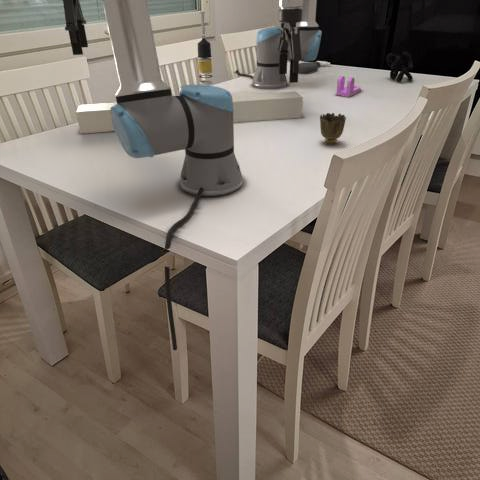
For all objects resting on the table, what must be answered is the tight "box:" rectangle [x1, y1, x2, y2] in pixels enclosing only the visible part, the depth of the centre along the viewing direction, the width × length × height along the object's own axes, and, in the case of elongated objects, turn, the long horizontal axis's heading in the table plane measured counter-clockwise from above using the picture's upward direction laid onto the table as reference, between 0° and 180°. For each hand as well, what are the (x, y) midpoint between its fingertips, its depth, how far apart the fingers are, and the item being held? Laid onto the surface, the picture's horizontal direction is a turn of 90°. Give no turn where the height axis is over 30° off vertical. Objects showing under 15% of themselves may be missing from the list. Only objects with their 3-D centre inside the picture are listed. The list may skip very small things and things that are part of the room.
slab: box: [75, 90, 304, 134], centre depth 152 cm, size 75×9×7 cm, turn 100°
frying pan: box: [298, 60, 331, 75], centre depth 223 cm, size 3×11×24 cm
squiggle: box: [385, 51, 414, 83], centre depth 198 cm, size 11×10×15 cm
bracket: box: [335, 75, 362, 98], centre depth 181 cm, size 13×6×7 cm, turn 143°
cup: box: [319, 112, 347, 145], centre depth 131 cm, size 8×7×8 cm
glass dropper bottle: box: [197, 11, 214, 86], centre depth 181 cm, size 6×6×30 cm
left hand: (81, 50), depth 136 cm, fingers open, 13 cm apart
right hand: (287, 78), depth 152 cm, fingers open, 13 cm apart
